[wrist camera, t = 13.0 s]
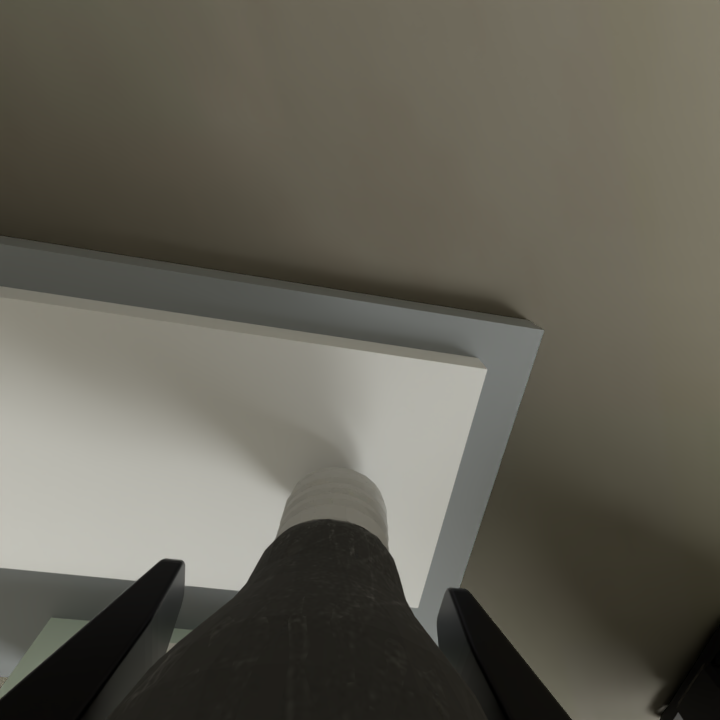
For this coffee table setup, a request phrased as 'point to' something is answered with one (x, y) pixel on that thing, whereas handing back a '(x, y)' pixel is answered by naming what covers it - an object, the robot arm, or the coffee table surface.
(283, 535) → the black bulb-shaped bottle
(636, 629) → the coffee table surface
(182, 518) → the scale
